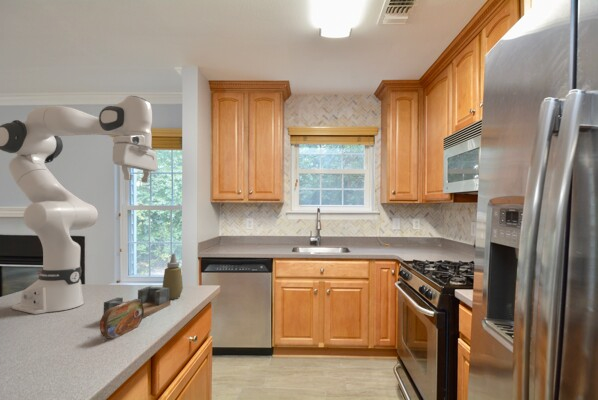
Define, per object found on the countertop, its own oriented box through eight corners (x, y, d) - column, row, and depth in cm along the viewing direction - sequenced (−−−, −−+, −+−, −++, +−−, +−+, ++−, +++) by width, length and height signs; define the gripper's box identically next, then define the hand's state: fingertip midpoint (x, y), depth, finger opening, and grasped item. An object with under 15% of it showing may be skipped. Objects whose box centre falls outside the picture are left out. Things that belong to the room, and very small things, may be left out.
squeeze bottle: (175, 294, 136) (176, 252, 136) (186, 297, 131) (187, 254, 131) (157, 298, 129) (159, 254, 130) (168, 301, 124) (170, 256, 125)
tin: (106, 343, 86) (107, 312, 86) (96, 342, 86) (97, 311, 87) (144, 324, 100) (145, 297, 101) (135, 323, 101) (136, 296, 101)
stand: (101, 322, 100) (102, 302, 101) (147, 303, 122) (147, 286, 122) (128, 325, 99) (129, 304, 99) (170, 305, 120) (170, 287, 120)
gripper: (147, 148, 122) (146, 183, 122) (109, 135, 102) (107, 178, 102) (162, 148, 122) (161, 183, 121) (127, 135, 101) (125, 178, 101)
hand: (136, 181), depth 111 cm, fingers open, 8 cm apart
